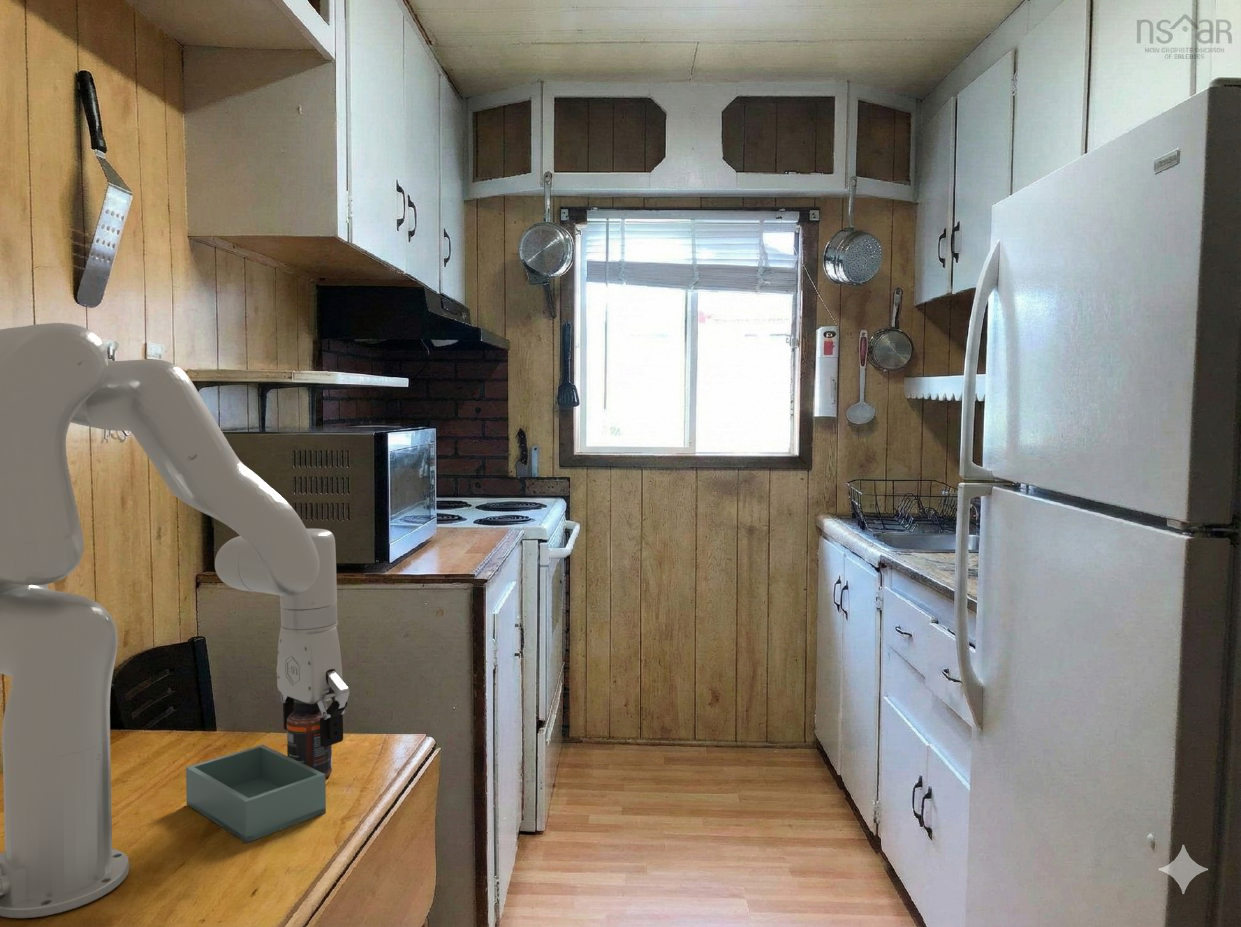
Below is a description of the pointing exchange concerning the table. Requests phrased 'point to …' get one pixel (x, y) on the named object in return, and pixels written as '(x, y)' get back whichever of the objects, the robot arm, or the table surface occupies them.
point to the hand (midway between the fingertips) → (313, 735)
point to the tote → (255, 792)
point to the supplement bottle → (307, 738)
